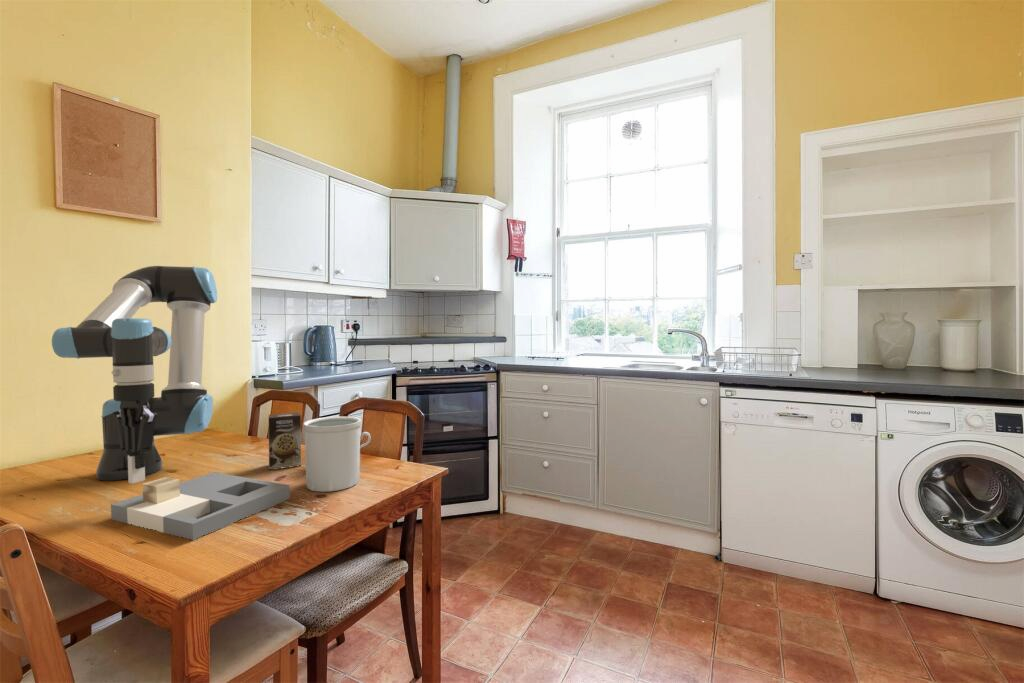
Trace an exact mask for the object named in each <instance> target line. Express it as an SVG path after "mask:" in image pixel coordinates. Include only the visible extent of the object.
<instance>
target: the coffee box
mask: <svg viewBox="0 0 1024 683" xmlns="http://www.w3.org/2000/svg"><path fill="white" fill-rule="evenodd" d="M301 422H302V420H301V413H300V412H289V413H286V412H285V413H276V414H275V413H274V414H268V470H269V469H273V470H276V469H275V468H281V467H289V466H297V465H301V466H302V426H301V425H302V423H301ZM297 467H298V466H297ZM289 468H290V467H289ZM281 469H282V468H281Z"/></svg>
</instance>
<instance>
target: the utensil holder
mask: <svg viewBox="0 0 1024 683" xmlns="http://www.w3.org/2000/svg"><path fill="white" fill-rule="evenodd" d="M302 425H303V430H304V446H305V447H304V449H305V450H304V452H305V478H306V479H305V481H306V482H305V483H306V489H308V490H310V491H313V492H323V493H325V492H327V493H328V492H335V491H341V490H342V491H343V490H345V489H349V488H352V487H353V486H355V485H357V484H358V483H359V481H360V467H361V466H360V465H361V448H360V446H361V439H360V437H361V434H360V431H361V425H362V419H361V418H359V417H356V416H355V417H354V416H326V417H319V418H318V417H317V418H314V419H309V420H306V421H304V422H303V424H302Z"/></svg>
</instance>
